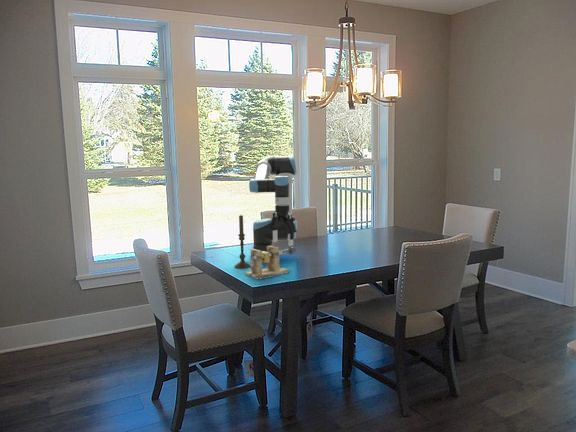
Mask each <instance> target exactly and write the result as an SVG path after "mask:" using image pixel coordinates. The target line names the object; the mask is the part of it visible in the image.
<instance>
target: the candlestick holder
mask: <svg viewBox="0 0 576 432" xmlns="http://www.w3.org/2000/svg"><path fill="white" fill-rule="evenodd" d="M238 222H239V224H238V225H239V227H238V228H239V234H238V235H237V236H238V239H239V241H240V242H239V243H240V245H239V246H240V254H239V256H238V257H239V259H240V261H239V262H237V263H236V264H235V265H234V268H235V267H236V268H235V269H239V268H245V269H249V268H251V263H248V262H246V261H245V259H246V254H245V252H244V250H245V249H244V245H245V243H244V240H246V238H245V236H246V234H245V232H244V215H242V214H240V215H238ZM248 267H249V268H248Z"/></svg>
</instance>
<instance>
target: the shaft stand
mask: <svg viewBox="0 0 576 432" xmlns="http://www.w3.org/2000/svg"><path fill="white" fill-rule="evenodd" d="M279 251H280V247H279V246H274V245H273V246H267V252H269V253H270V252H272V256H273V257H269V258H270V262H267V263H266V267H263V262H262V251H260V250H257V249H253V248H251V249H250V265H251V267H250V271H246V272H245V276H247V275H249V276H248V277H250V276H252V277H251V278H253V277H255V278H254V279H256V278H258V279H259V280H261V279H260V278H264V279H266V278H265V277H268V278H270V277H269V276H272V277H275V276H274V275H276V276H280V275H279V274H281V275H284V274H283V273H285V274H287V273H288V272H289V273H290V269H287V268H284V267H282V266H280V255H279ZM255 255H256V260H254V258H253V256H255ZM289 273H288V274H289ZM258 279H257V280H258Z"/></svg>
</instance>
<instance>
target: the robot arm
mask: <svg viewBox="0 0 576 432" xmlns="http://www.w3.org/2000/svg"><path fill="white" fill-rule="evenodd" d="M269 175H275V177H274V178H269ZM295 175H297V165H296V159H295V157H294V156H291V155H275V156H272V155H270V156H266V157H264V158H262V159H261V160H259V162H257V164H256V166H255V176H254V178H251V179H249V181H248V182H249V185H248V188H249V192H250V193H255V194H257V193H258V194H259V193H260V194H261V193H262V194H263V193H264V194H265V193H274V200H275V201H274V204H275V206H274V207H275V208H274V209H275V212H273V213H272V218H262V219H257V220H256V221H255V220H254V222H253V224H252V231H253V232H252V233H253V246H252V249H257V250H260V251H265V252H267V246H274V244H273V243H277V242H278V241H288V243H287V244H288V246H289V247H292V246H294V240H295V239H296V238H297V237H296V236H297V230H298V229H297V228H298V220H296V217H295V216H294V215H293V179H294V178H295Z"/></svg>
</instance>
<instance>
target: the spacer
mask: <svg viewBox="0 0 576 432" xmlns="http://www.w3.org/2000/svg"><path fill="white" fill-rule="evenodd" d="M262 254H263V255H264V258H263V259H262V263H265V264H267V262H270V258H269V252H265V251H262Z"/></svg>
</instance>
